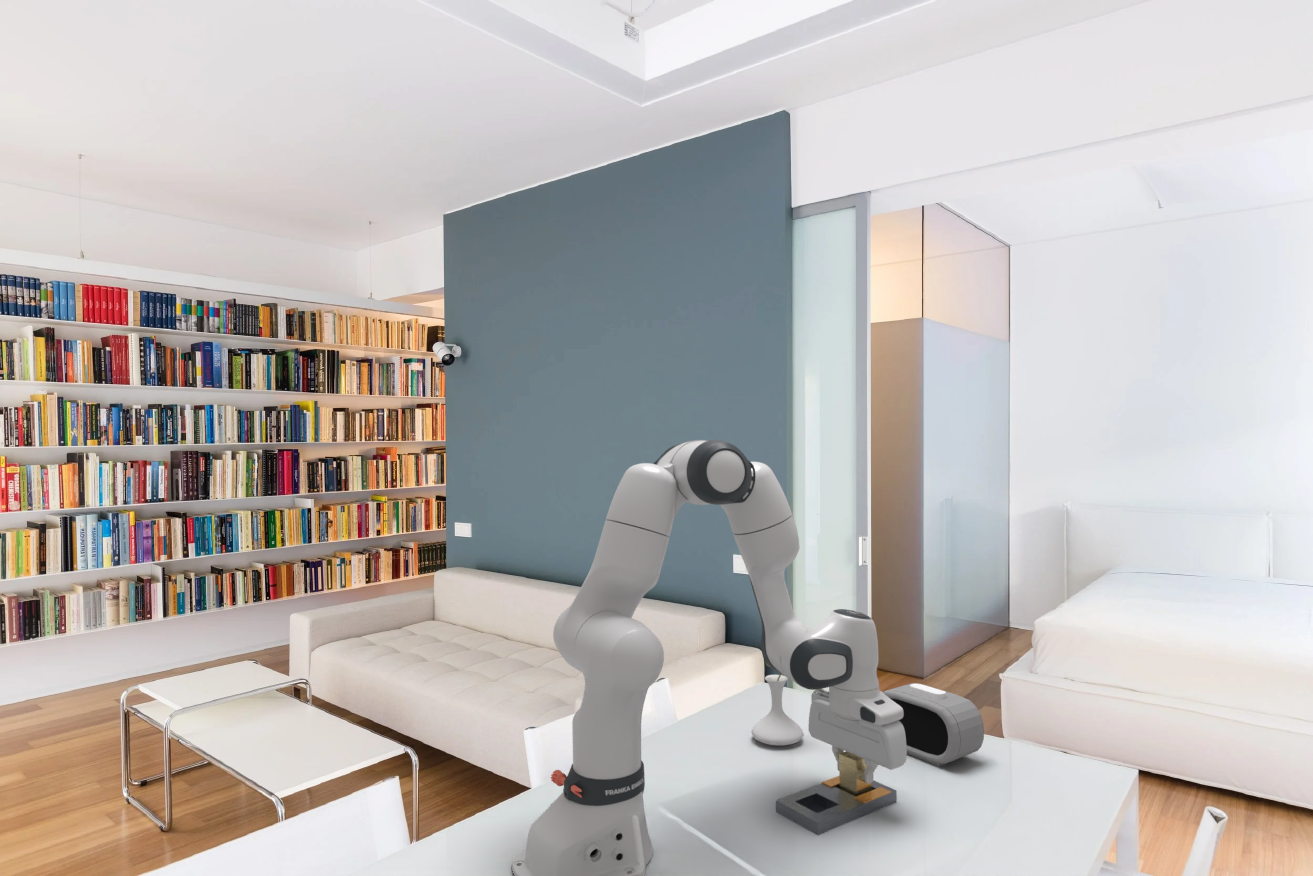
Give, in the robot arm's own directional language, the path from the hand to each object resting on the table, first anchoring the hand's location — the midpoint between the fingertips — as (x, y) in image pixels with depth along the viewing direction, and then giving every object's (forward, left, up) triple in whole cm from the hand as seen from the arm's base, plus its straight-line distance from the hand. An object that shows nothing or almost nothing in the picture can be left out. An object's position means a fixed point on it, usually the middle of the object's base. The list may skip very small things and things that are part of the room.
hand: (855, 776), depth 140 cm
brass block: (0, 0, -3) cm, 3 cm away
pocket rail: (-5, 0, -5) cm, 7 cm away
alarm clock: (+30, +7, -5) cm, 31 cm away
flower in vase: (+10, +30, -5) cm, 32 cm away
